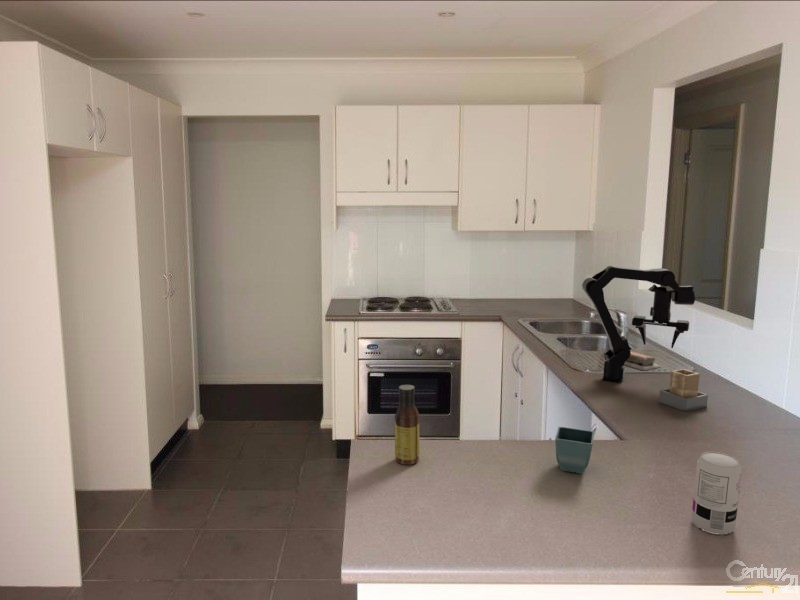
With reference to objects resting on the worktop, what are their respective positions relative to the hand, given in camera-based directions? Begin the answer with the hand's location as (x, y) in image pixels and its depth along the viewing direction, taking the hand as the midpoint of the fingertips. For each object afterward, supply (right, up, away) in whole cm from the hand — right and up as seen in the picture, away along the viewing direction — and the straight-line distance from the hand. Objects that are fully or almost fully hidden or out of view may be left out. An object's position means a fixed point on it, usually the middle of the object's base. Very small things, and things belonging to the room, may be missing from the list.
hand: (658, 346), depth 228 cm
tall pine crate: (-1, -16, -22) cm, 28 cm away
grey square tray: (-1, -17, -22) cm, 28 cm away
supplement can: (-28, -31, -97) cm, 105 cm away
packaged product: (0, -9, +25) cm, 27 cm away
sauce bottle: (-92, -24, -68) cm, 117 cm away
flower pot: (-50, -26, -71) cm, 90 cm away
